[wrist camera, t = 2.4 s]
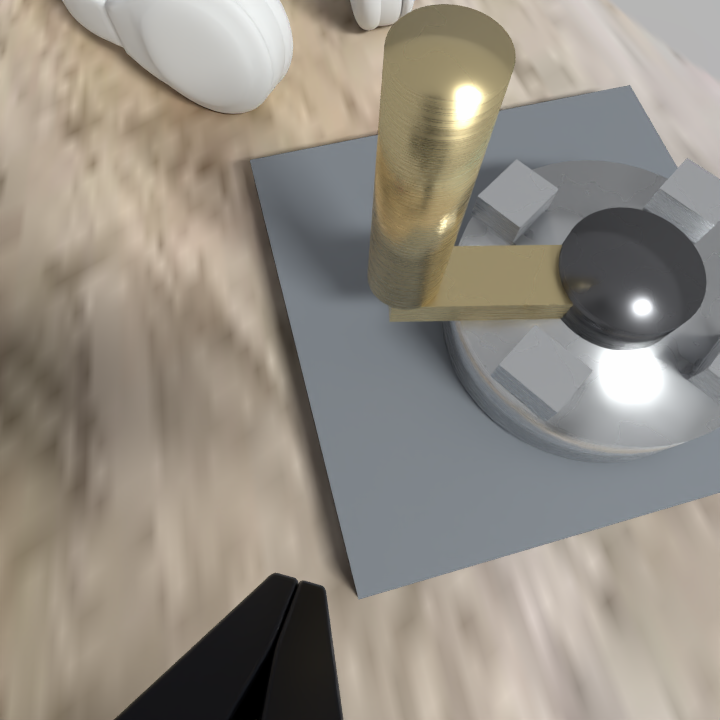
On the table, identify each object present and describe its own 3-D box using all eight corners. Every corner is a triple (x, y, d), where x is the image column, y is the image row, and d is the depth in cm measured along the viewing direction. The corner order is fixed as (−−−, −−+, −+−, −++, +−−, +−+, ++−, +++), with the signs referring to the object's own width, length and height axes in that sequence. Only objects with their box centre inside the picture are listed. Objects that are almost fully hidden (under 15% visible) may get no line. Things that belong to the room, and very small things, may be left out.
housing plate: (813, 462, 23) (847, 455, 22) (357, 597, 21) (358, 599, 19) (616, 107, 30) (631, 81, 28) (254, 180, 28) (249, 157, 26)
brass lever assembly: (685, 203, 26) (996, -130, 13) (758, 459, 22) (1309, 314, 9) (359, 206, 25) (372, -138, 13) (368, 469, 21) (401, 329, 9)
